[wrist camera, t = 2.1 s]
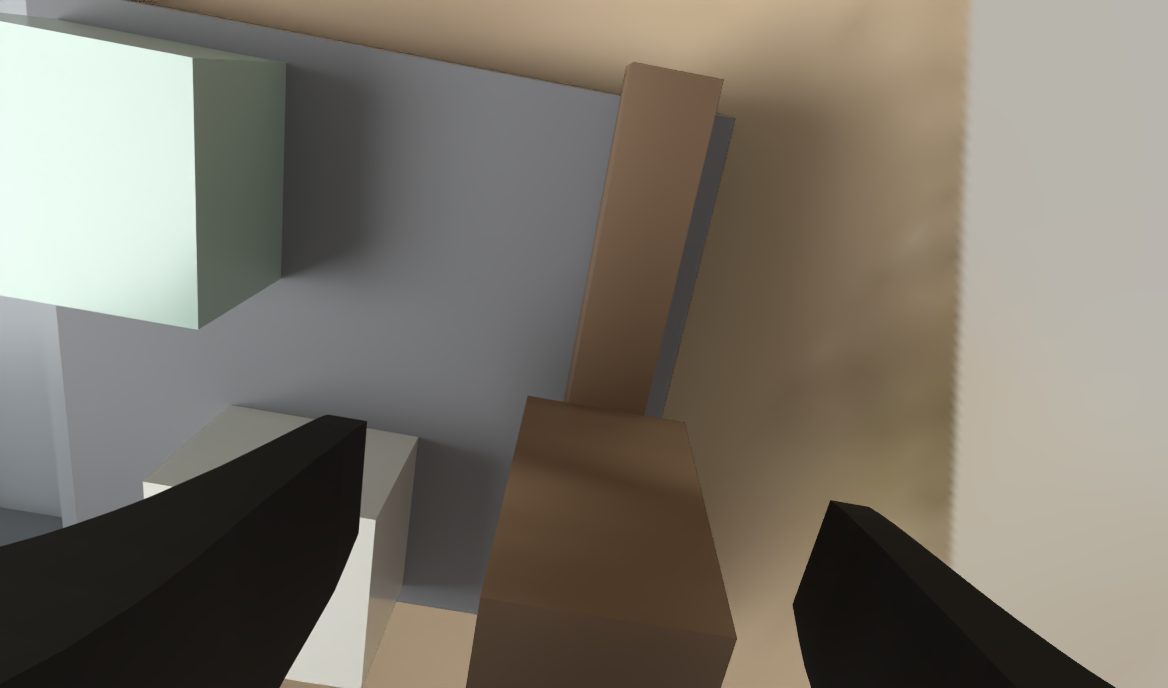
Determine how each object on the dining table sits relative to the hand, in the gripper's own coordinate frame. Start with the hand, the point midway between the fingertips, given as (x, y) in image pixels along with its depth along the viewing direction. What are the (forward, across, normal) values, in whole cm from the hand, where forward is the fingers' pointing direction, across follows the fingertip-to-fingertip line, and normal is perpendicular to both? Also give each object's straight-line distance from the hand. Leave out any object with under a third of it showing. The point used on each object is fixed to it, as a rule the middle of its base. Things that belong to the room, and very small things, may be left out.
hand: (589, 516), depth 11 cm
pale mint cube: (+4, +8, -4) cm, 10 cm away
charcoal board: (+6, +5, 0) cm, 8 cm away
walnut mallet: (+4, 0, 0) cm, 4 cm away
